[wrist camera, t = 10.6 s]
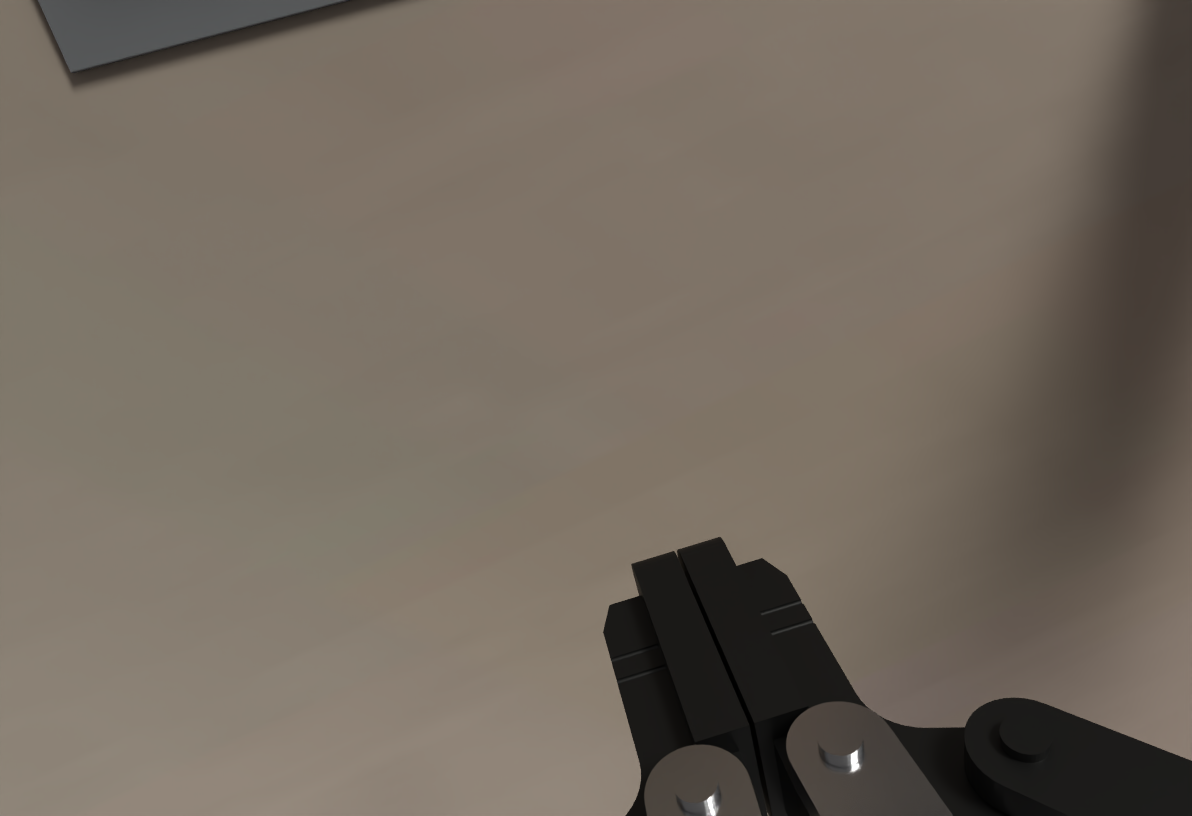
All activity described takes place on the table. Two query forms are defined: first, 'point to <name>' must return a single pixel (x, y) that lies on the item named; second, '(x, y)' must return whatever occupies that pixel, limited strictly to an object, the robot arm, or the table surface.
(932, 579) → the table surface
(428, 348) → the table surface
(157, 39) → the mat
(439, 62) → the table surface
